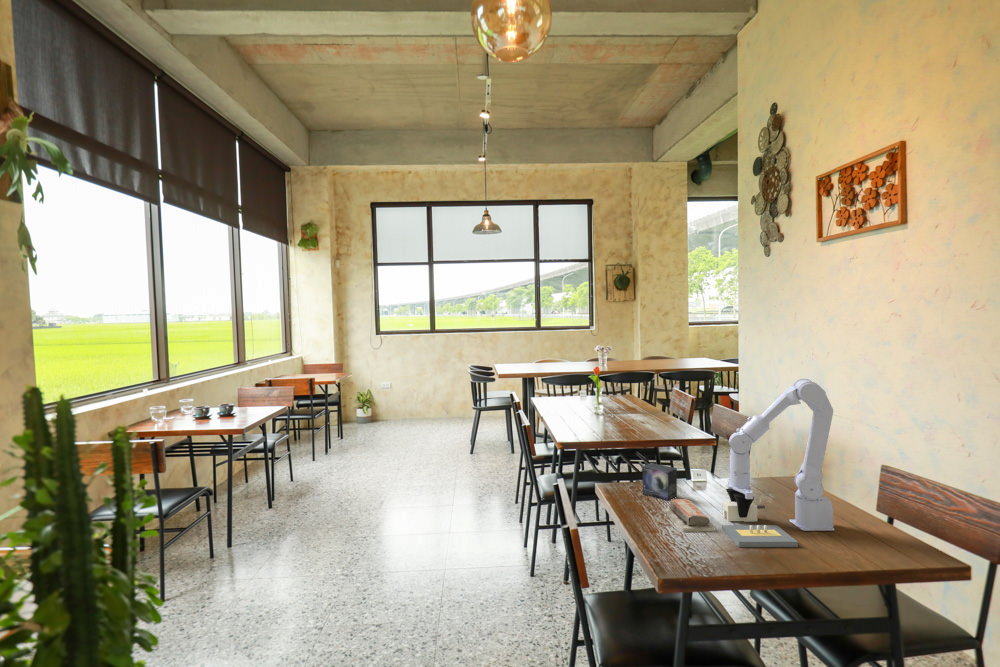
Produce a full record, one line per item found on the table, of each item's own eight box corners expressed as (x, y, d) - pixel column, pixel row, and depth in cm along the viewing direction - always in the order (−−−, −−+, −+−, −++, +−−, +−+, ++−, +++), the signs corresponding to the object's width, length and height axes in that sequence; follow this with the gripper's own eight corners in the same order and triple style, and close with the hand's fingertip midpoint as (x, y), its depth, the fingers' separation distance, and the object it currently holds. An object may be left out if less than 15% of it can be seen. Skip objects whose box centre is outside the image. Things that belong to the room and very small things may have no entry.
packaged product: (663, 497, 176) (693, 497, 176) (663, 512, 176) (694, 511, 176) (682, 517, 158) (716, 516, 158) (682, 533, 158) (716, 533, 158)
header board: (776, 530, 158) (776, 518, 158) (798, 547, 146) (797, 534, 146) (722, 530, 159) (721, 518, 158) (738, 547, 147) (738, 534, 146)
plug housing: (761, 517, 169) (761, 501, 169) (767, 521, 165) (767, 505, 165) (723, 517, 169) (723, 501, 169) (727, 521, 165) (727, 505, 165)
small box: (641, 494, 193) (641, 465, 192) (651, 490, 197) (651, 462, 197) (668, 501, 185) (667, 471, 185) (677, 497, 189) (677, 467, 189)
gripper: (718, 465, 174) (718, 506, 175) (736, 478, 160) (736, 523, 160) (739, 465, 174) (740, 506, 174) (760, 478, 160) (760, 523, 160)
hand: (740, 514), depth 167 cm, fingers open, 4 cm apart
